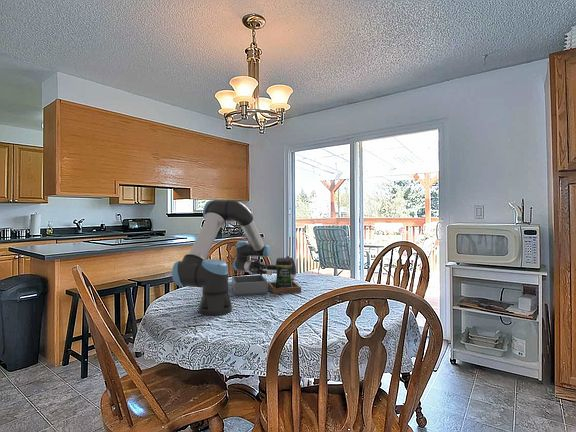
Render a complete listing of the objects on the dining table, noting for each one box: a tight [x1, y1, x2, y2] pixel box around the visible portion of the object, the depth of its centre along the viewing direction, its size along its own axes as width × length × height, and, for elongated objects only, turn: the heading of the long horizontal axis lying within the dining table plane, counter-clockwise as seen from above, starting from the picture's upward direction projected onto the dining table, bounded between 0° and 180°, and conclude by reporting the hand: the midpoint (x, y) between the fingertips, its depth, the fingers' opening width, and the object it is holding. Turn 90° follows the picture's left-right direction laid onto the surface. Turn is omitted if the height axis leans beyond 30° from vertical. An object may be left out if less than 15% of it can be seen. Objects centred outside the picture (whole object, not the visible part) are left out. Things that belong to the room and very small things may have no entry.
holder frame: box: [268, 280, 302, 295], centre depth 196 cm, size 16×16×3 cm
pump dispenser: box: [285, 255, 298, 280], centre depth 226 cm, size 10×10×15 cm
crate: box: [231, 274, 269, 297], centre depth 193 cm, size 18×18×7 cm
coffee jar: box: [275, 257, 293, 288], centre depth 196 cm, size 10×8×19 cm
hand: (279, 271), depth 199 cm, fingers open, 13 cm apart
